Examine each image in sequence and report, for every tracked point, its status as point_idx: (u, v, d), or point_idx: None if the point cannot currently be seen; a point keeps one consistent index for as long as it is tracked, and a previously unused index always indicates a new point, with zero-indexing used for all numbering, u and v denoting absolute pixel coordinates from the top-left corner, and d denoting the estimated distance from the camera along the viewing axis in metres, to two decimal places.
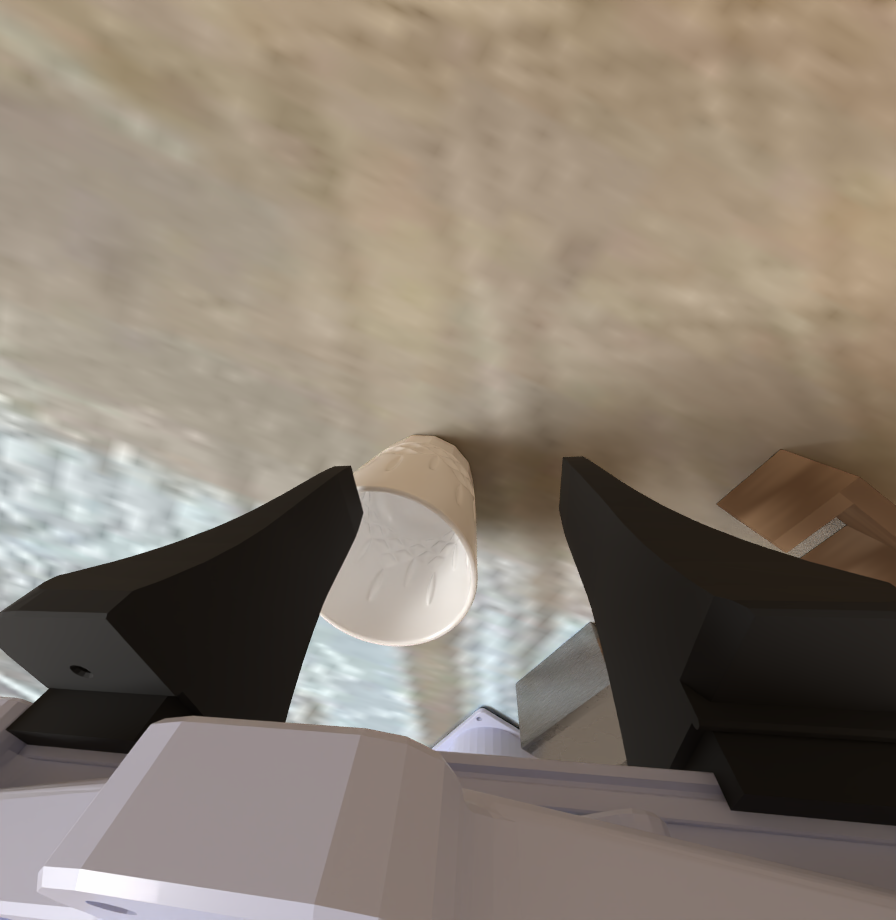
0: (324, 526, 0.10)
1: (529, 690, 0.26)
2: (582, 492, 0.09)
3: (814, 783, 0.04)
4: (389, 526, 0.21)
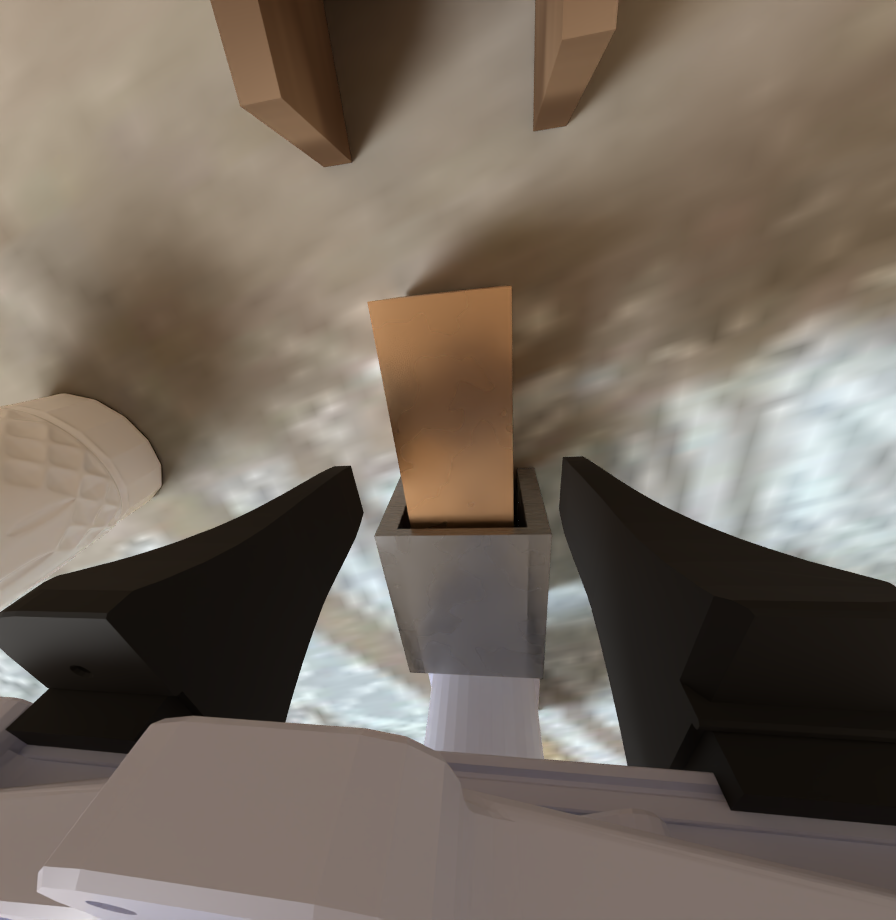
0: (324, 526, 0.10)
1: None
2: (582, 492, 0.09)
3: (814, 783, 0.04)
4: None
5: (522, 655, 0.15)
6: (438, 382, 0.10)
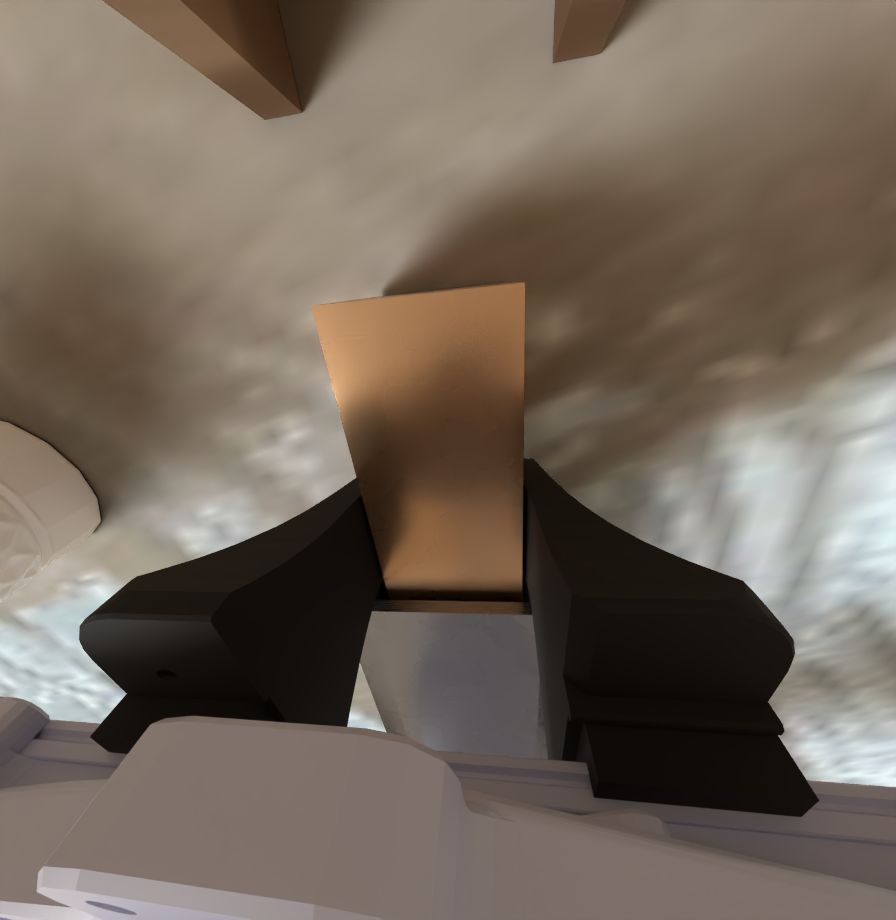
0: None
1: None
2: None
3: (665, 771, 0.04)
4: None
5: (531, 741, 0.12)
6: (419, 420, 0.07)
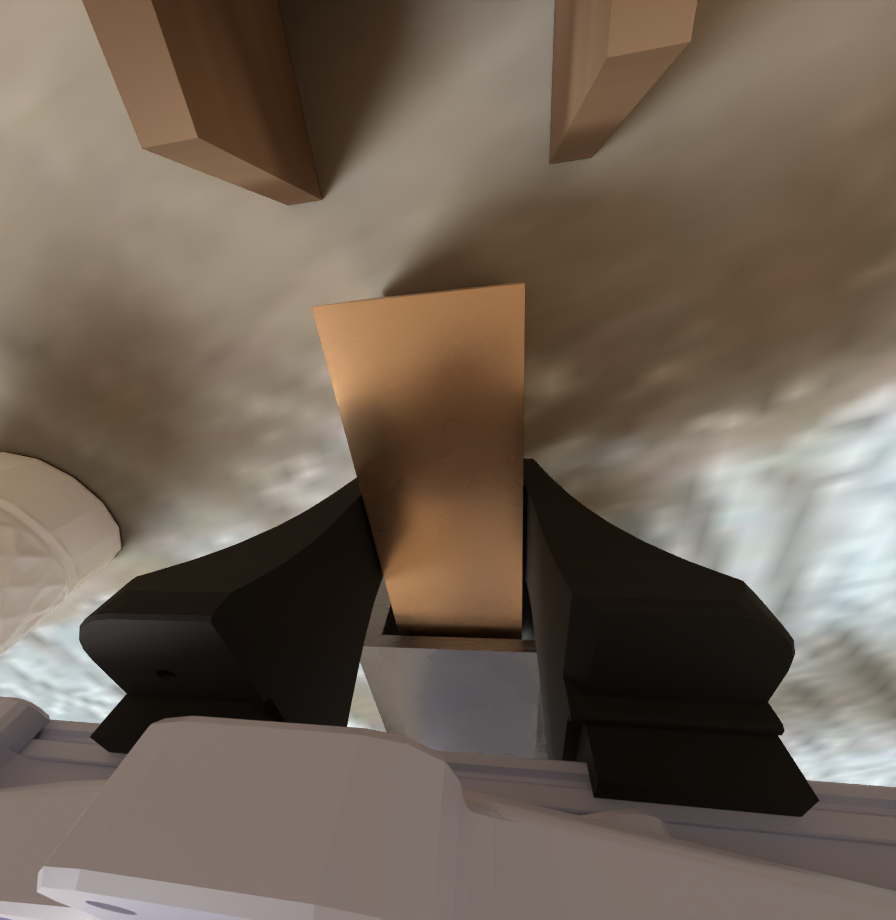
0: None
1: None
2: None
3: (665, 771, 0.04)
4: None
5: None
6: (419, 419, 0.07)
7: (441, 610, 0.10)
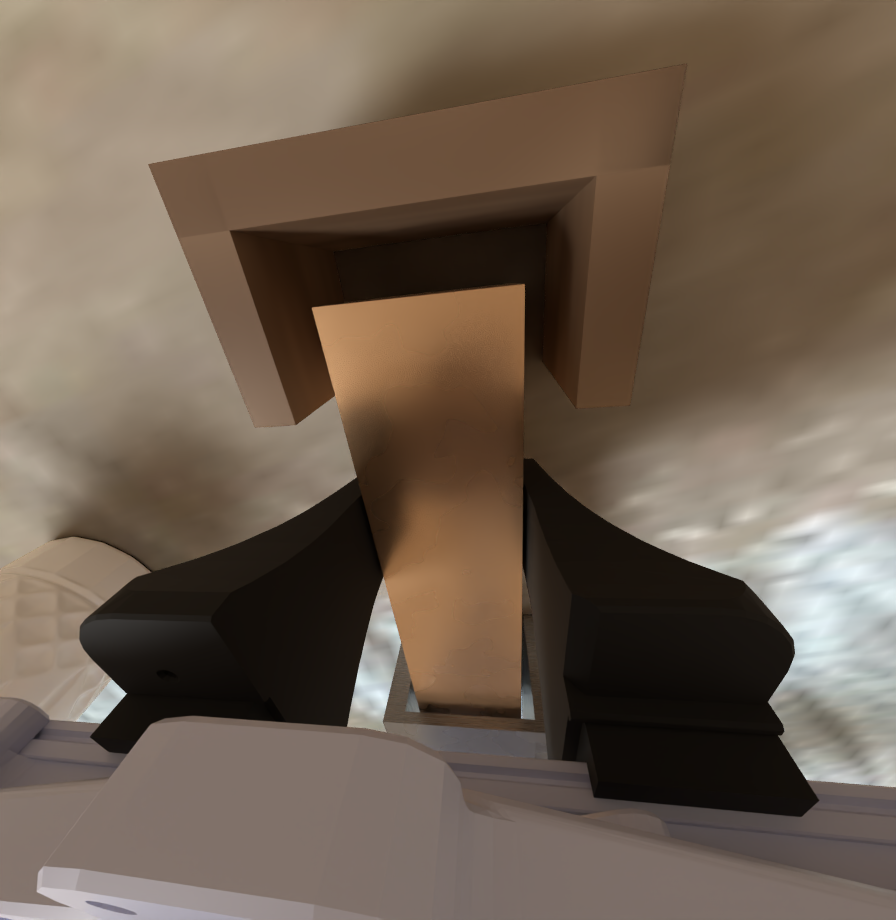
0: None
1: None
2: None
3: (665, 771, 0.04)
4: None
5: None
6: (420, 420, 0.07)
7: (441, 610, 0.10)
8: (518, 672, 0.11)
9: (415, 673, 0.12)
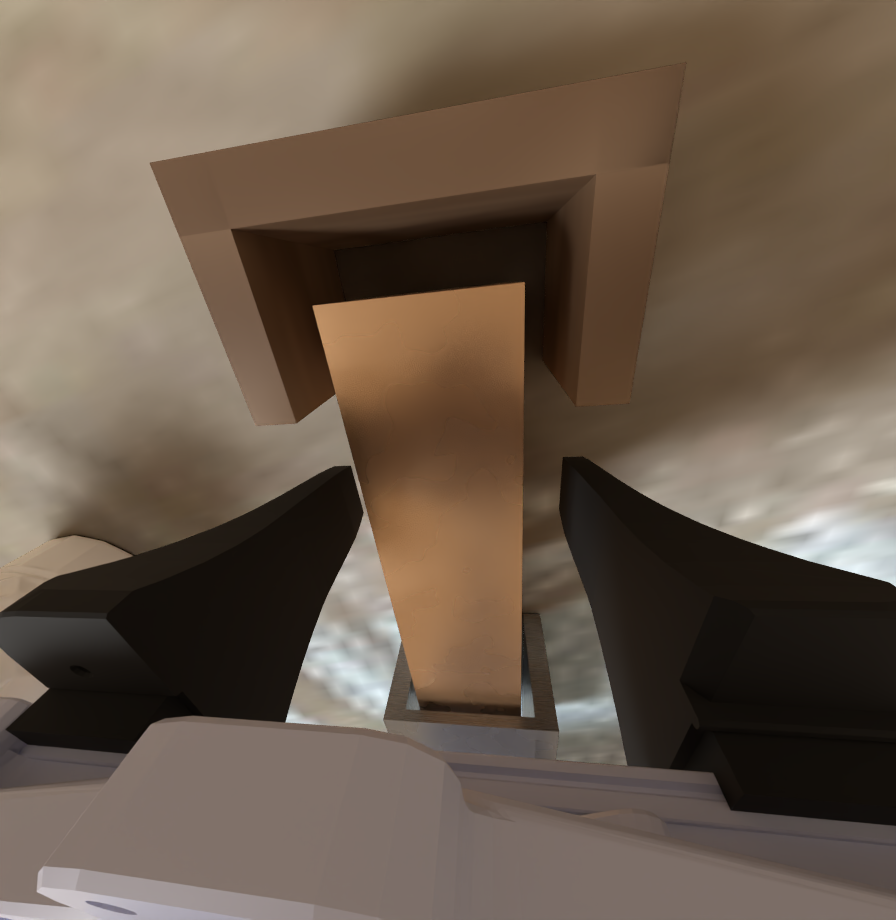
0: (324, 526, 0.10)
1: None
2: (582, 492, 0.08)
3: (814, 783, 0.04)
4: None
5: None
6: (420, 418, 0.07)
7: (441, 608, 0.10)
8: (518, 670, 0.11)
9: (415, 671, 0.12)
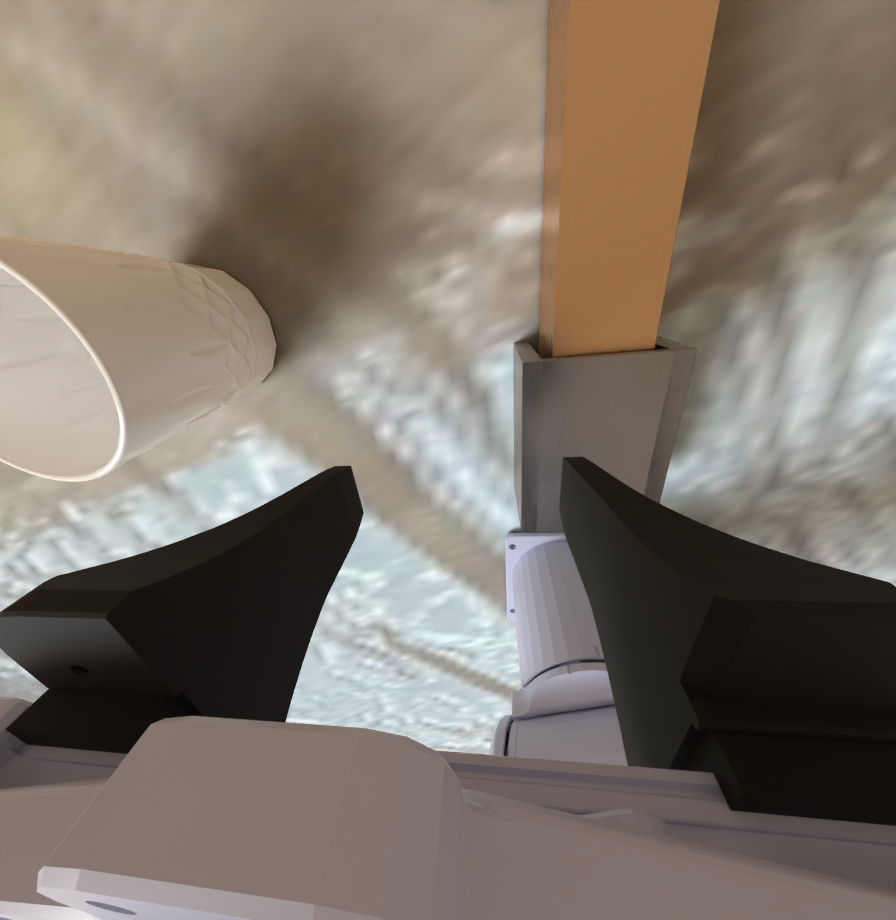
0: (324, 526, 0.10)
1: (516, 474, 0.20)
2: (582, 492, 0.08)
3: (814, 783, 0.04)
4: None
5: None
6: None
7: (609, 174, 0.11)
8: (665, 274, 0.12)
9: (561, 296, 0.13)
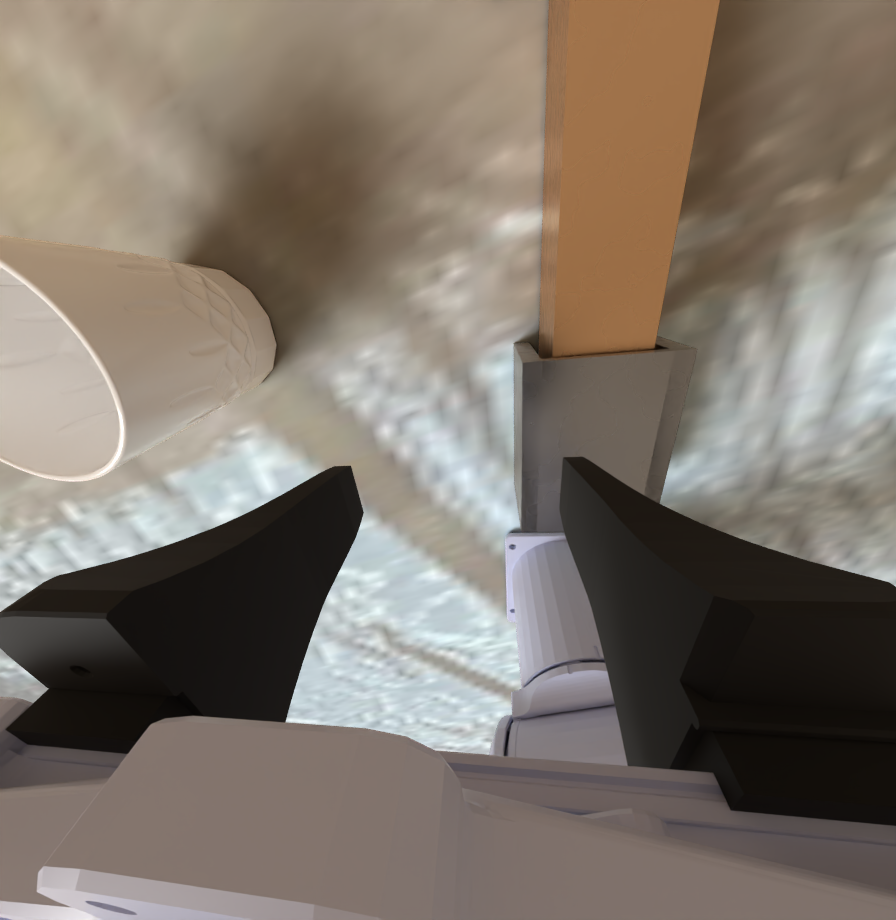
0: (324, 526, 0.10)
1: (516, 474, 0.20)
2: (582, 492, 0.09)
3: (814, 783, 0.04)
4: None
5: None
6: None
7: (609, 174, 0.11)
8: (665, 274, 0.12)
9: (561, 296, 0.13)
